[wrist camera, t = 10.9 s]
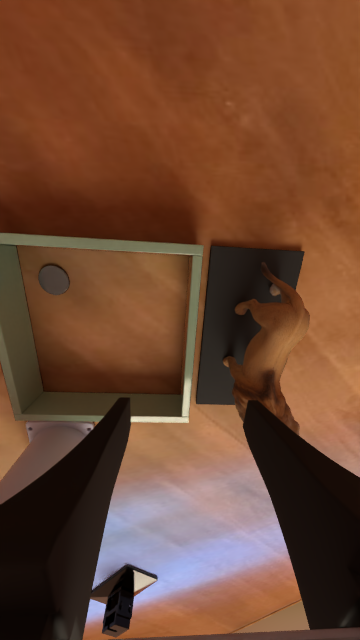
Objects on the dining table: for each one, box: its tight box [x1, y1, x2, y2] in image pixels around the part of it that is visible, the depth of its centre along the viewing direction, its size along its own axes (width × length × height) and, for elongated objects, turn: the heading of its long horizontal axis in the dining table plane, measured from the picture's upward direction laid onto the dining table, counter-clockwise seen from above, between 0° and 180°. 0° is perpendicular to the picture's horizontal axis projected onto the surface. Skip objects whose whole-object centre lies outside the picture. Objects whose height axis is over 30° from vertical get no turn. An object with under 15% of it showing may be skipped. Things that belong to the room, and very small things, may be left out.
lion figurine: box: [223, 262, 310, 435], centre depth 16 cm, size 15×5×9 cm, turn 178°
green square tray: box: [0, 232, 204, 423], centre depth 19 cm, size 18×18×4 cm
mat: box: [196, 246, 304, 405], centre depth 21 cm, size 18×9×1 cm, turn 177°
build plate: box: [90, 565, 158, 637], centre depth 34 cm, size 12×7×5 cm, turn 138°
